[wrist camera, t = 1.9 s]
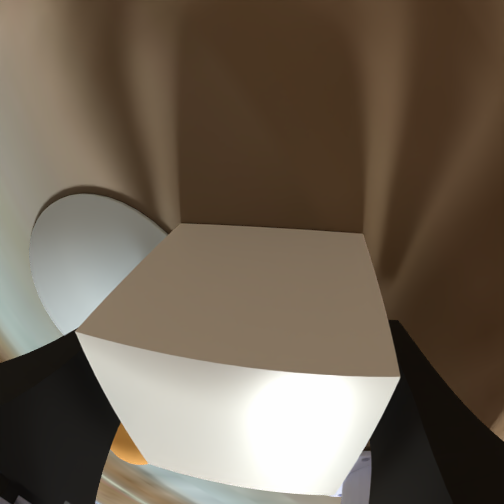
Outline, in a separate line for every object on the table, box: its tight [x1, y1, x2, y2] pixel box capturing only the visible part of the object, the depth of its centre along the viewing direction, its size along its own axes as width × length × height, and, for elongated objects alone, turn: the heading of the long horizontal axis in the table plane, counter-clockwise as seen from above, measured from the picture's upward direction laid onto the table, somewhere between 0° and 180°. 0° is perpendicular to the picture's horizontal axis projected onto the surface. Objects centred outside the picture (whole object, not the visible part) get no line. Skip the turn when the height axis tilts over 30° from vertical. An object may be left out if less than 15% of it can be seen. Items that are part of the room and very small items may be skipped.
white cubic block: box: [75, 223, 400, 495], centre depth 8 cm, size 6×6×6 cm
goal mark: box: [29, 193, 168, 335], centre depth 12 cm, size 10×10×1 cm
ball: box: [110, 423, 148, 465], centre depth 14 cm, size 4×4×4 cm
